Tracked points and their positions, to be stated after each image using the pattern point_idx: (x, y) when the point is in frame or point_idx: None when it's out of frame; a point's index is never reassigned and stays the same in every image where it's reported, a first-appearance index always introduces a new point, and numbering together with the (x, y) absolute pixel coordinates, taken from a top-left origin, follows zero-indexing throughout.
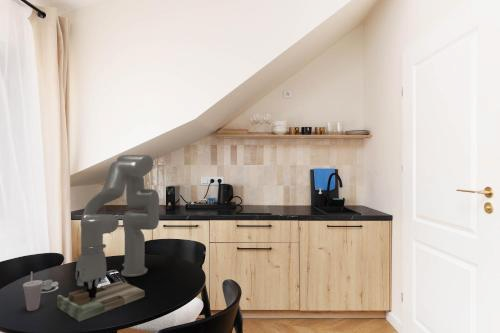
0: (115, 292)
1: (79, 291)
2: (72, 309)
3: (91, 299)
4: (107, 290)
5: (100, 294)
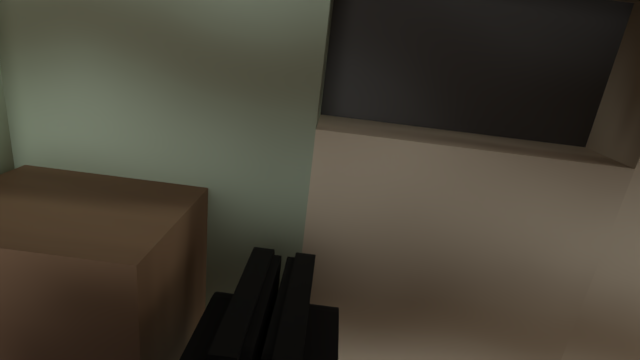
0: (587, 354)
1: (47, 318)
2: None
3: (279, 285)
4: (607, 212)
5: (447, 248)
